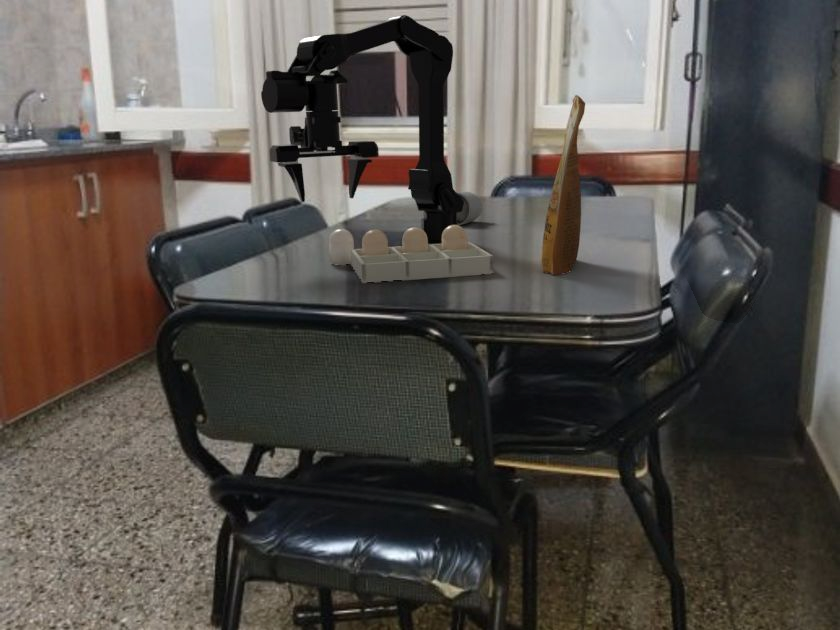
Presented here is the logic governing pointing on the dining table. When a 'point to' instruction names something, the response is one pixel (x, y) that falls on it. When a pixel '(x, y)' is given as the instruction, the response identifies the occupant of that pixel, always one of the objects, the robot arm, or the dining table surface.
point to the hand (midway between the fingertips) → (327, 200)
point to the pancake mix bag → (565, 203)
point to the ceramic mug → (469, 208)
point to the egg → (340, 247)
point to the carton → (419, 257)
